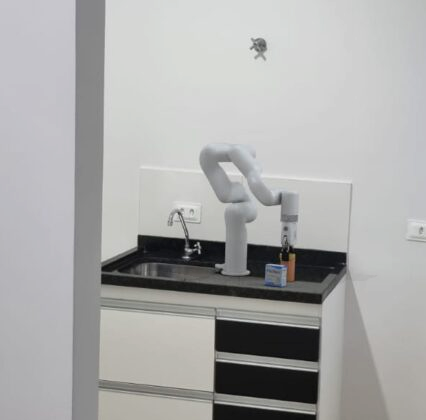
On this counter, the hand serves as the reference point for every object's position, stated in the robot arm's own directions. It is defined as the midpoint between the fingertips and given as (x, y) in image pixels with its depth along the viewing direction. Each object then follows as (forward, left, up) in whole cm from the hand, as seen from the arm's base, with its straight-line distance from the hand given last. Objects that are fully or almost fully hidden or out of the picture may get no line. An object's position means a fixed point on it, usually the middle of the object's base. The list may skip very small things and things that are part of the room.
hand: (287, 259), depth 371 cm
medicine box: (-3, -14, -9) cm, 17 cm away
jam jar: (0, 0, -9) cm, 9 cm away
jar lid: (0, 0, +2) cm, 2 cm away
